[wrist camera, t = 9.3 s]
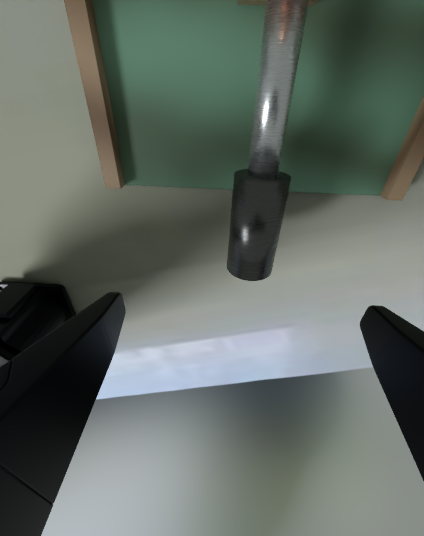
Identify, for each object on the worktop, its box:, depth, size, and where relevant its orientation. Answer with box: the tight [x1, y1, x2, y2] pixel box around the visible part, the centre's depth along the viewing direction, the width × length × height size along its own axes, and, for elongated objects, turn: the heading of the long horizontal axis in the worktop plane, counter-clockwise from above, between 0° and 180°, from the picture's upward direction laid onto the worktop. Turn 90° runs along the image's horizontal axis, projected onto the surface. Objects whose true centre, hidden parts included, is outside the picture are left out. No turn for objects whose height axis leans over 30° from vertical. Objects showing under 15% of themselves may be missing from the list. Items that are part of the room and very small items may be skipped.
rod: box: [227, 0, 319, 281], centre depth 12 cm, size 15×4×6 cm, turn 179°
